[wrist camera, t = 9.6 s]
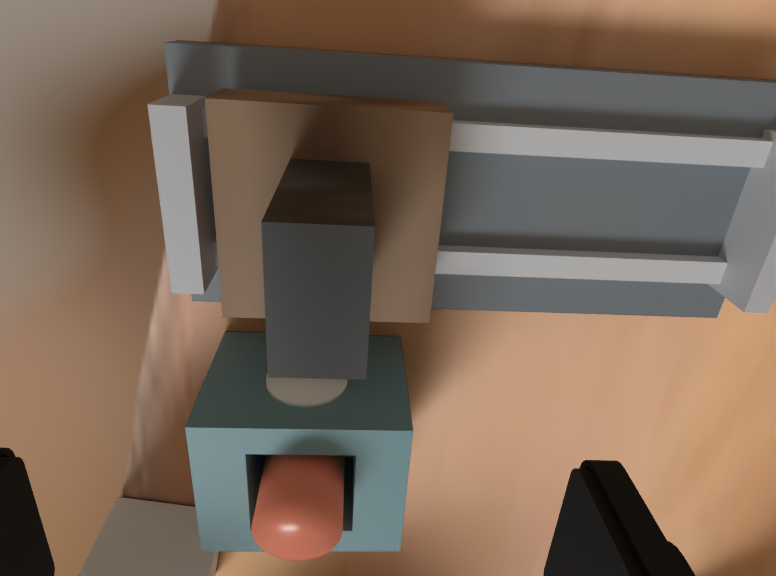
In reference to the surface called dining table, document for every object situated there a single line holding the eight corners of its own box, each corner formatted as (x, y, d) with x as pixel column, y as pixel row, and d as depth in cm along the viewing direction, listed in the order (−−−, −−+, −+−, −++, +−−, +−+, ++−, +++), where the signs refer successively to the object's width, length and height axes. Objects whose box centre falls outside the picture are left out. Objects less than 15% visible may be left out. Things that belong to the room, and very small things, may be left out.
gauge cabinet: (400, 332, 31) (413, 425, 24) (391, 442, 35) (400, 551, 28) (224, 327, 31) (184, 421, 23) (233, 440, 34) (201, 551, 27)
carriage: (442, 101, 23) (497, 157, 14) (422, 292, 27) (454, 431, 18) (223, 88, 22) (132, 138, 13) (236, 286, 26) (173, 427, 17)
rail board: (775, 80, 26) (862, 93, 22) (696, 300, 31) (752, 347, 27) (178, 40, 24) (137, 46, 20) (202, 283, 29) (174, 331, 25)
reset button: (346, 420, 28) (343, 498, 23) (343, 477, 29) (341, 560, 25) (266, 418, 27) (249, 497, 23) (269, 477, 29) (253, 560, 25)
